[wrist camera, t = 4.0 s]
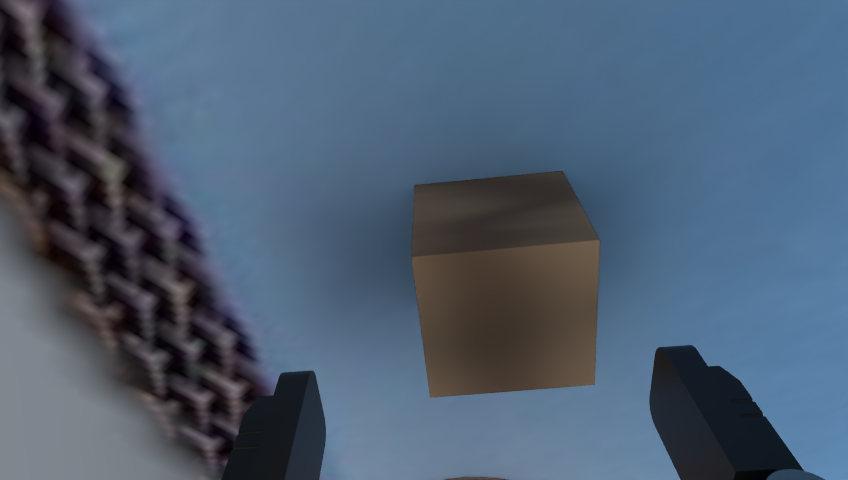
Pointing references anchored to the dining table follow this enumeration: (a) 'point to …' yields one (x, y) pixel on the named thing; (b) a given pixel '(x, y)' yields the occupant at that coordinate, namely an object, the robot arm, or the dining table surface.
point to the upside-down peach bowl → (475, 478)
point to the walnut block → (505, 284)
